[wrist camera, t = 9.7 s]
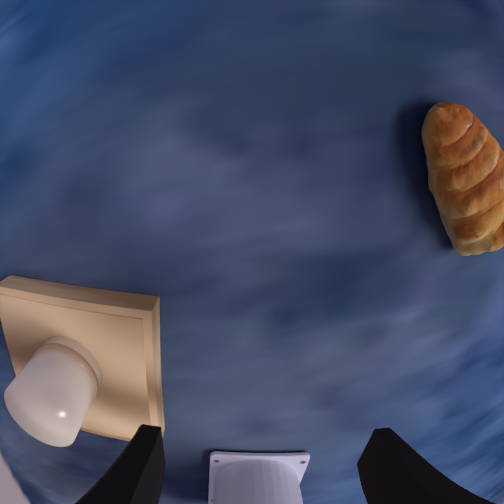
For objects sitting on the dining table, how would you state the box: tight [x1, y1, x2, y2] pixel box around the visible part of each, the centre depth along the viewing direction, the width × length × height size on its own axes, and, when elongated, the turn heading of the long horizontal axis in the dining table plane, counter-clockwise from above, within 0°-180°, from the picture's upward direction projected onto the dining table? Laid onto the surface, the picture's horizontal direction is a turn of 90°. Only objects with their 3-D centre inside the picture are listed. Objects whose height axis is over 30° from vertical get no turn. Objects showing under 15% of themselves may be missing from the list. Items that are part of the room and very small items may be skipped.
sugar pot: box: [4, 336, 102, 447], centre depth 14 cm, size 4×4×5 cm
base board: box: [0, 275, 165, 441], centre depth 18 cm, size 11×11×2 cm
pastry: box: [421, 102, 504, 256], centre depth 15 cm, size 9×7×4 cm
